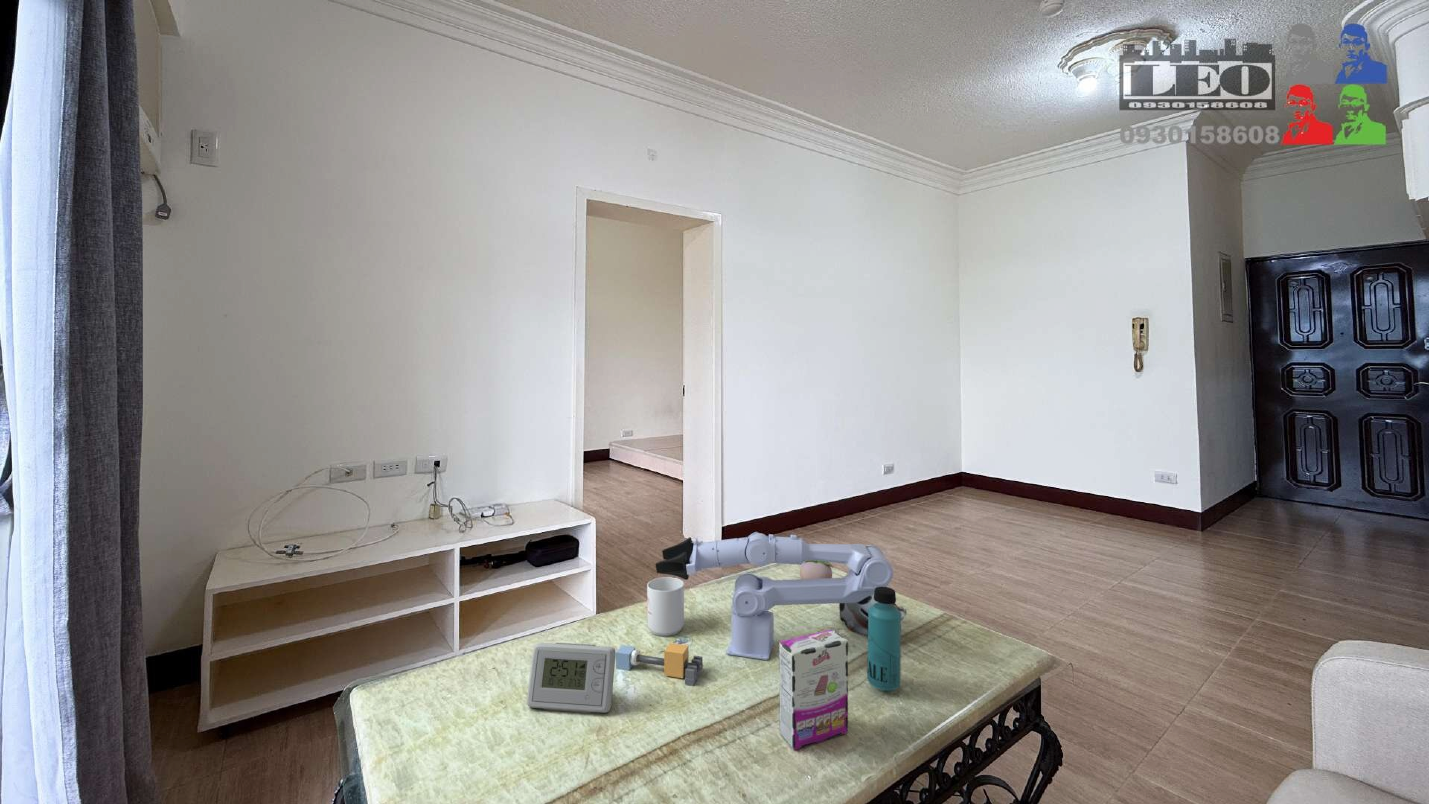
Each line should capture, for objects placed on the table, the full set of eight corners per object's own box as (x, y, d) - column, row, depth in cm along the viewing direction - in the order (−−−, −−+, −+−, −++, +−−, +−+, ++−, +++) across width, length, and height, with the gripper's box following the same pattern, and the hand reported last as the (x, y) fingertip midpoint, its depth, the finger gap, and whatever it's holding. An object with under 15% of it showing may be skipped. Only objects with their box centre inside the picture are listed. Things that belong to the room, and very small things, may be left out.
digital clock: (521, 709, 98) (520, 652, 98) (550, 682, 107) (549, 630, 106) (599, 727, 93) (599, 667, 93) (623, 697, 102) (623, 643, 101)
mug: (689, 633, 127) (689, 587, 127) (653, 640, 124) (653, 593, 123) (672, 613, 138) (672, 570, 138) (639, 619, 135) (639, 575, 134)
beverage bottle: (900, 683, 107) (902, 584, 106) (901, 702, 101) (903, 597, 100) (867, 677, 109) (868, 580, 108) (865, 695, 103) (866, 593, 102)
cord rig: (702, 669, 112) (702, 653, 112) (693, 685, 106) (693, 669, 106) (625, 656, 117) (625, 641, 117) (612, 672, 111) (612, 656, 110)
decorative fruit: (799, 596, 149) (799, 560, 149) (799, 584, 157) (799, 551, 157) (833, 598, 148) (834, 562, 147) (832, 587, 156) (832, 553, 155)
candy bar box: (831, 717, 96) (832, 627, 95) (848, 734, 92) (850, 640, 91) (777, 733, 92) (777, 639, 91) (792, 752, 87) (793, 653, 86)
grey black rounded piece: (901, 620, 135) (916, 582, 127) (890, 658, 125) (905, 620, 118) (844, 593, 140) (855, 556, 133) (829, 627, 131) (840, 589, 124)
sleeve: (688, 669, 111) (688, 645, 111) (682, 678, 108) (682, 653, 108) (670, 666, 112) (670, 642, 112) (664, 675, 109) (664, 651, 109)
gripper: (718, 525, 127) (662, 533, 128) (712, 548, 112) (650, 556, 114) (723, 554, 127) (667, 561, 129) (718, 580, 113) (655, 588, 114)
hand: (659, 561), depth 121 cm, fingers open, 7 cm apart
